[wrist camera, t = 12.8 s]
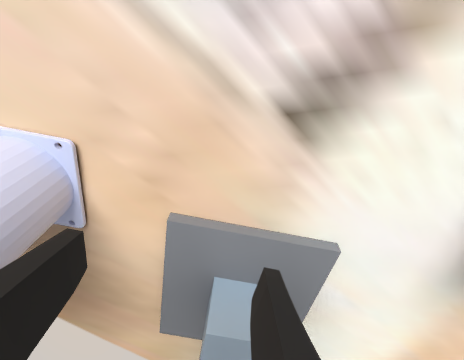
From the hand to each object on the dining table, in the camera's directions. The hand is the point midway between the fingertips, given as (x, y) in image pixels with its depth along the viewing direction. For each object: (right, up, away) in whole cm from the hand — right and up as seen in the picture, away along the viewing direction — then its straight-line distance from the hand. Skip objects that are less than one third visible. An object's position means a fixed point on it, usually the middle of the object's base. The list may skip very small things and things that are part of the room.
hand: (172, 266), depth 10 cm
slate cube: (+3, -8, +14) cm, 16 cm away
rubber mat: (+3, -7, +15) cm, 17 cm away
